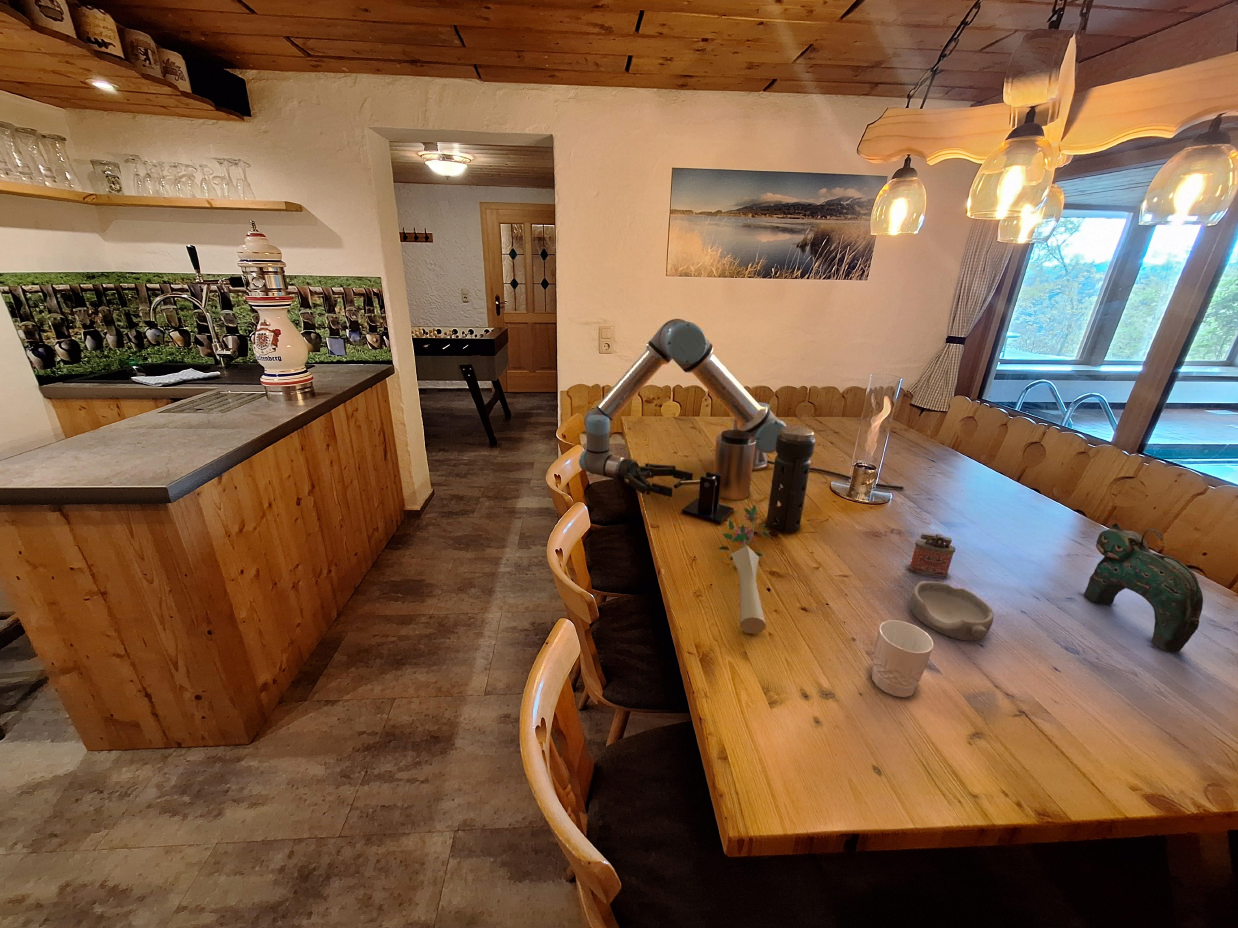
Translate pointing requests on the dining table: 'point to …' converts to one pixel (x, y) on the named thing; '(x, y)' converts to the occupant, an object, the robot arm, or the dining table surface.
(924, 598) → the dish
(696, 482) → the switch lever
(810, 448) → the muzzle brake
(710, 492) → the switch base
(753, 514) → the flower vase
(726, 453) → the metal tumbler
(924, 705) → the dining table surface
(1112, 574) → the ceramic cat
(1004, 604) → the dining table surface
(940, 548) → the lighter
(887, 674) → the white cup
